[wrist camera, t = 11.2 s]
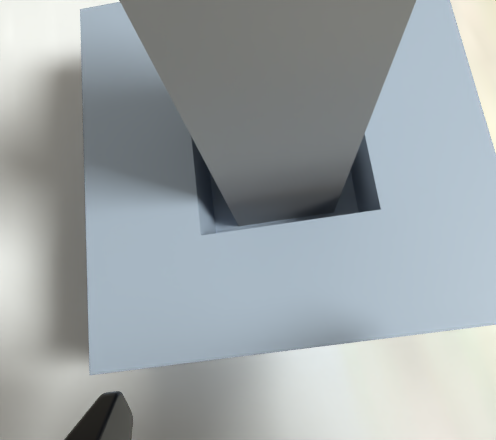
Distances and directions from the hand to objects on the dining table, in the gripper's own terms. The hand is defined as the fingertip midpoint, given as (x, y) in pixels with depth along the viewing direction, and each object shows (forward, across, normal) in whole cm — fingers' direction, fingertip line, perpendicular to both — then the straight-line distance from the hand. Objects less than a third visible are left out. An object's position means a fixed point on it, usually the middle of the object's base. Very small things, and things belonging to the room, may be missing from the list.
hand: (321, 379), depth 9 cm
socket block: (+11, 0, 0) cm, 11 cm away
